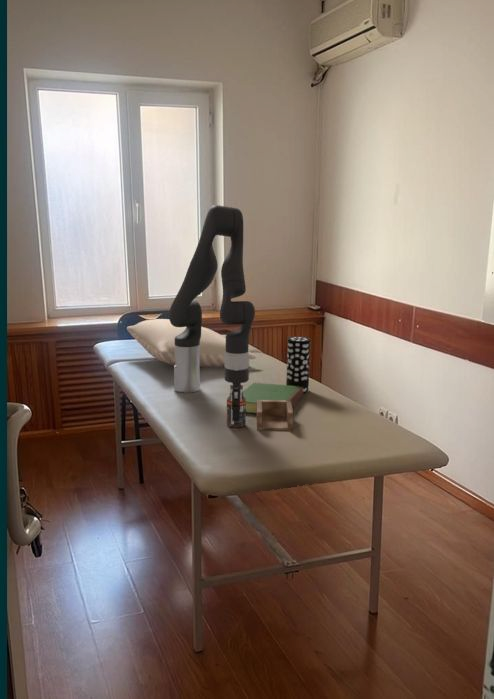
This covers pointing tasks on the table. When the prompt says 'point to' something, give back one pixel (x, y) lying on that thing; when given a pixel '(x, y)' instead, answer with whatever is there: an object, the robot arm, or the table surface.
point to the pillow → (161, 342)
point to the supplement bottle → (242, 413)
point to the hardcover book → (270, 394)
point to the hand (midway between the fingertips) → (236, 417)
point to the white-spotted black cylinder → (298, 362)
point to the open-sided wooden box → (274, 415)
